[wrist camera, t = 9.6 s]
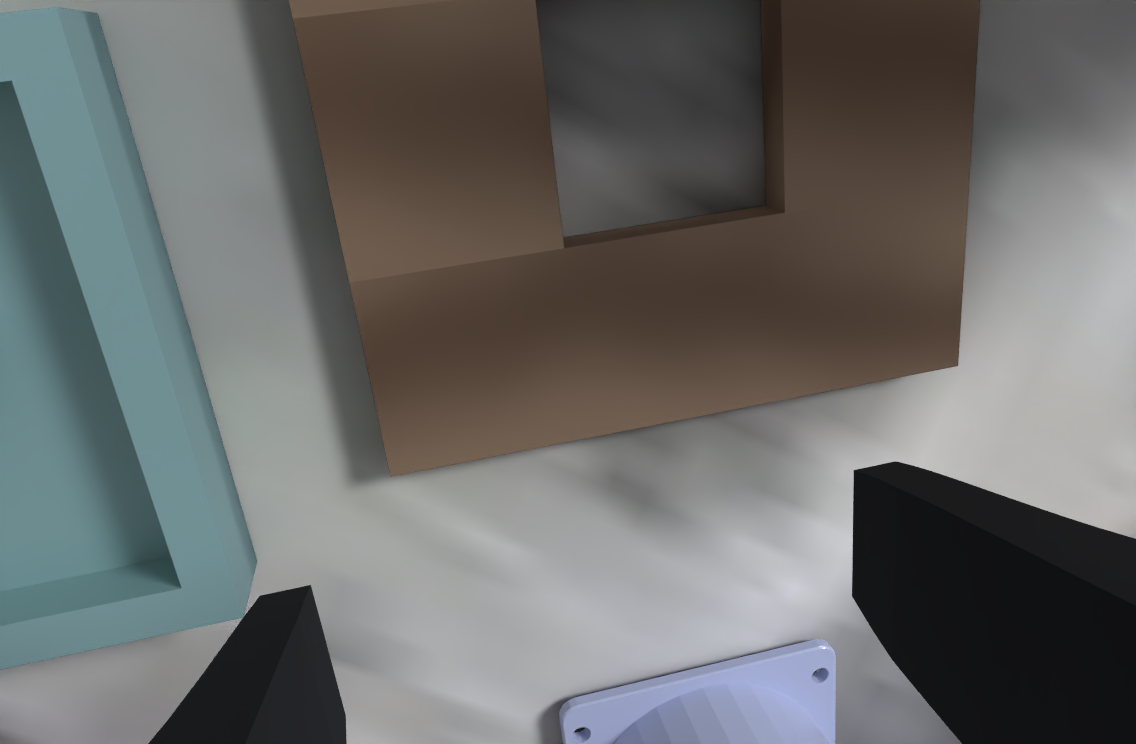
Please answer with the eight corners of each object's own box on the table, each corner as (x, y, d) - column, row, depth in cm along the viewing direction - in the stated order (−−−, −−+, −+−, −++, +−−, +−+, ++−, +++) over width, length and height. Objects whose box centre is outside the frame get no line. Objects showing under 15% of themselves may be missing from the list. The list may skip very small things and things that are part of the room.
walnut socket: (934, 353, 22) (957, 365, 21) (389, 457, 20) (390, 476, 19) (966, -306, 17) (1000, -326, 16) (237, -259, 15) (228, -279, 14)
